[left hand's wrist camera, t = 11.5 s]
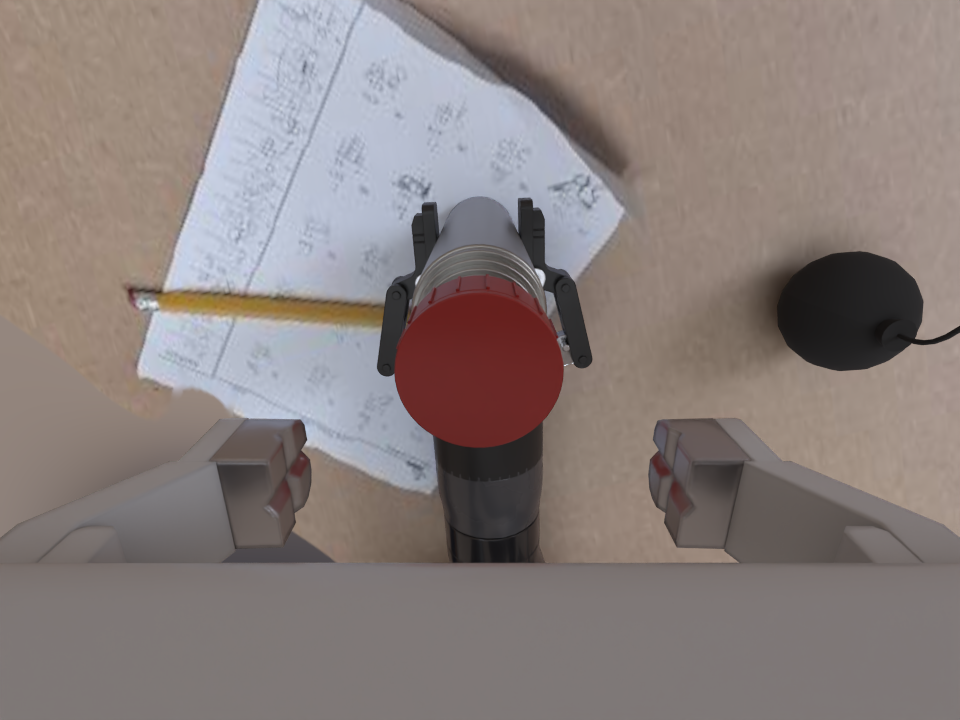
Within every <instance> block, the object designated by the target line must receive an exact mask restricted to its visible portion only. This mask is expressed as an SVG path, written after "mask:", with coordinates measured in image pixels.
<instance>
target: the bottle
mask: <svg viewBox="0 0 960 720" xmlns="http://www.w3.org/2000/svg"><path fill="white" fill-rule="evenodd" d="M486 274H489V276H492V277H497V278H501V279H504V280H507V281H509V282H512V283H513V281H514V282H516V285H518V286H519V287H521V288H523V289H524V290H525V291H527V292H528V293H529V294H530V295H531V296H532V297H533V298H535V297H536V298H537V299H538V301H539V304H540V306H541V307H542V308H543V310H544V312H545V313H546V315H547V304H546V297H545V293H544V289H543V287H542V284H541V282H540V280H539V277H538V275H537V273H536V271H535V269H534V267H533V264H532V262H531V260H530V258H529V256H528V254H527V251H526V249H525V247H524V245H523V243H522V241H521V238H520V236H519V234H518V232H517V230H516V228H515V225H514V223H513V221H512V219H511V217H510V215H509V213H508V212H507V210H506V209H505V208H504V207H503V206H502V205H501V204H500V203H498V202H497V201H495V200H493V199H490V198H487V197H472V198H468V199H466V200H464V201H462V202H460V203H459V204H458V205H457V206H456V207H455V208H454V209H453V210H452V211H451V213H450V214H449V216H448V218H447V221H446V223H445V225H444V227H443V229H442V231H441V233H440V235H439V238H438V240H437V242H436V244H435V246H434V248H433V250H432V253H431V255H430V257H429V259H428V261H427V263H426V265H425V267H424V270H423V272H422V274H421V276H420V278H419V280H418V282H417V285H416V288H415V290H414V294H413V299H412V310H413V308H414V306H415V305H416V306H418V304H419V303H420V302H421V301H422V300H423V299H424V298H425V297H426V296H427V295H428V294H429V293H430V292H431V291H432V288H434V287H435V288H437V287H439V286H441V285H442V284H444V283H446V282H449V281H451V280H454V279H457V278H458V276H461V277H467V276H486Z"/></svg>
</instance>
